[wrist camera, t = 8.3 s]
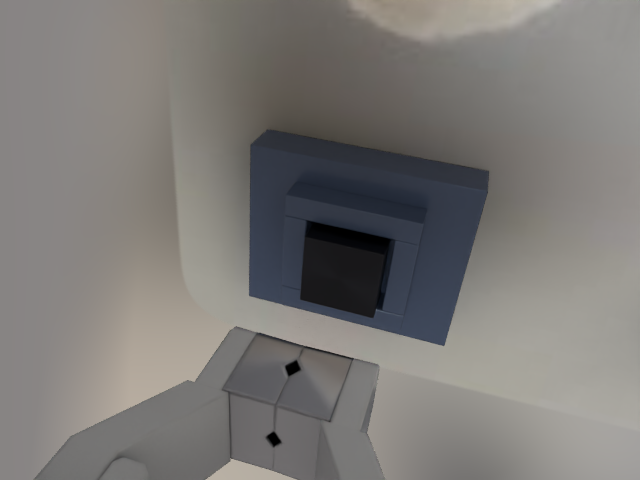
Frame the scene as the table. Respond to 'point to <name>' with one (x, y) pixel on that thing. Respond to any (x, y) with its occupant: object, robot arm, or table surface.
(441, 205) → the stepped blue pedestal
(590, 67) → the table surface
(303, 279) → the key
